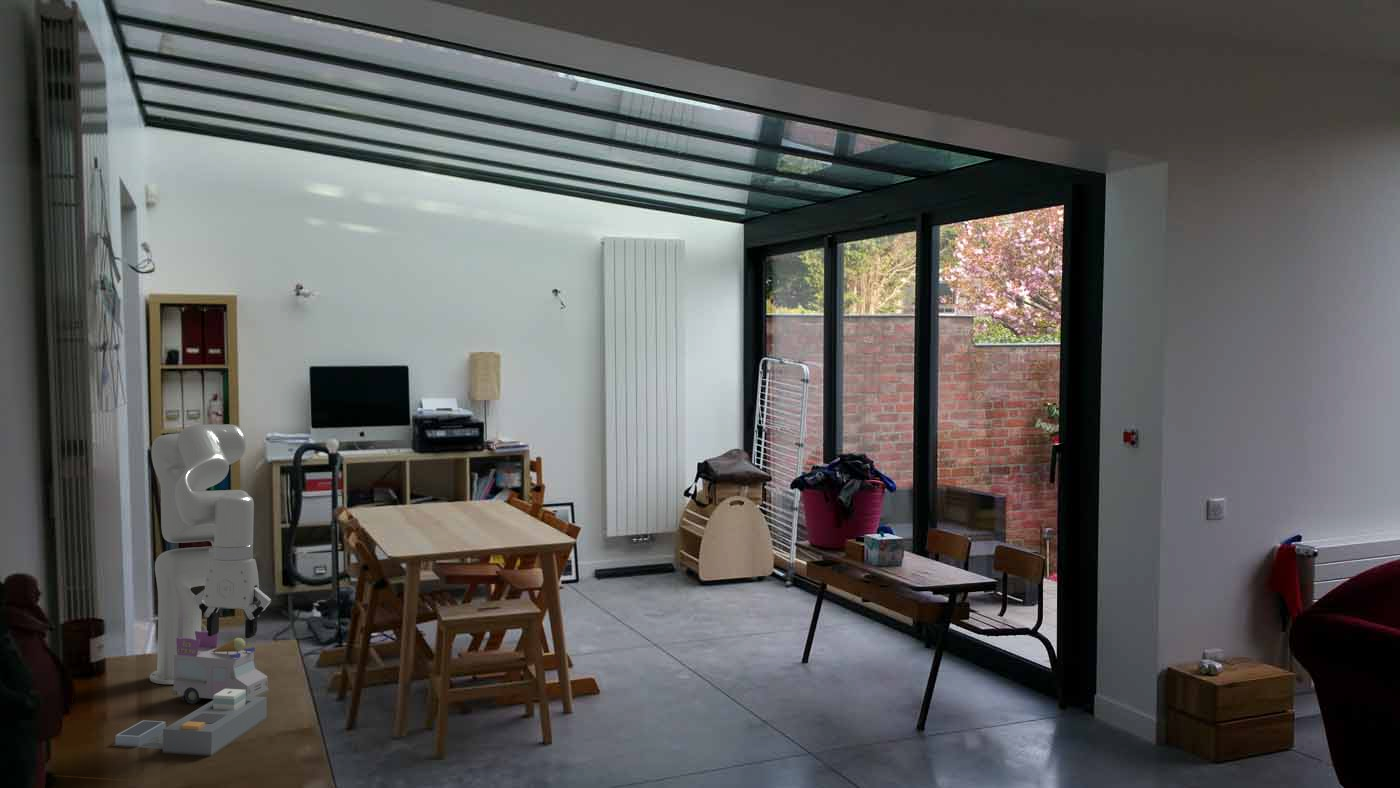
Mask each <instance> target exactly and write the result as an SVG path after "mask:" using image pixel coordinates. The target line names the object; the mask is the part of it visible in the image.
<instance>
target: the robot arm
mask: <svg viewBox="0 0 1400 788" xmlns="http://www.w3.org/2000/svg"><path fill="white" fill-rule="evenodd" d="M246 445H247V442H246V437H245V434H244V432H243V430H242V429H241V428H240V427H239V426H238V425H236V424H228V423H227V424H216V423H215V424H210V423H209V424H193V425H189V426H186V427H184V428H183V429H182V430H181V431H180V432H179V433H168V434H163V435H160V436H158V437H156V438H155V439H154V440H153V442H152V446H151V451H150V452H151V461H152V466H153V469H154V472H155V474H156V477H157V479H158V482H159V486H160V523H161V525H160V526H161V528H160V529H161V535H162V537H163V539H164V540H165V541H167V543H172V544H173V543H174V544H179V543H180V544H181V543H182V544H185V543H198V542H210V543H211V545H209V546H201V547H200V546H199V547H194V546H193V547H184V548H182V547H181V548H174V549H170V550H166V551H163V552H161V553H160V554H159V555H158V556H157V558H156V559H155V562H154V572H155V573H154V575H155V578H156V579H155V580H156V586H157V599H158V602H157V603H158V605H157V608H158V611H157V612H158V613H157V616H158V617H157V620H158V622H157V660H156V661H157V664H156V667H157V670H154V671H153V672H151V673H150V675H149V680H150V682H152V683H155V684H158V685H174V654H177V643H176V638H191V639H195V640H196V636H195V631H199V632H202V617H203V616H204V617H205V618H206V631H207V632H208V636H213V635H215V634H217V633H218V634H219V630H220V628H219V627H220V626H219V625H220V616H219V614H218V611H219V609H229V610H231V609H232V610H243V611H244V613H245V615H246V616H247V617H246V618H247V619H245V625H244V626H245V627H244V628H245V629H244V637H245V639H250V638H253V637H254V636H255V635H256V633H257V631H258V618H259V617H260V615H262V613H263V612H264V611H266V609H267V607H268V606H269V605H270V604H271V603H272V598H270V597H269V596H268V595H267V594H265V592H263V591H262V590H261V589H260V580H259V571H258V567H257V566H258V565H257V561H256V559H255V558H254V557H253V556H254V518H255V517H254V515H255V512H254V511H255V508H254V507H255V502H254V499H253V497H251V496H250V494H248V492H246V491H245V490H241V489H225V490H224V489H223V490H220V489H219V490H206V489H209V488H212V487H214V486H216V485H217V484H218V485H219V483H221V482H222V481H223V480H225V478H226V477H227V476H228V473H229V470H230V465H231V464H234V463H236V462H237V461H239V460H241V459H242V457H244V455H245V452H246V447H247V446H246ZM203 586H204V589H203V590H201V591H200V592H198V593H197V594H195V593H193V592H192V590H191V589H192V588H196V587H203ZM259 601H260V604H259V605H258V606H257V605H256V604H257V603H258V602H259ZM202 613H203V615H202Z"/></svg>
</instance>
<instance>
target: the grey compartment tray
mask: <svg viewBox="0 0 1400 788" xmlns="http://www.w3.org/2000/svg"><path fill="white" fill-rule="evenodd" d="M267 702H268V697H267V696H260V697H257V696H246V698H245V705H244V706H243V707H241V708H239V709H238V710H225V709H213V700H211V701H209V702H207V703H206V704H204V705H201V706H200V707H198V708H197V709H196V710H194V711H192V712H190V713H188V714H186V715H185V716H184V717H181V718H180V719H178V720H176V721H174V722H173V723H171V724H169V725H168V726H166V728H164V729H163V749H162V753H163V754H175V755H192V756H207V757H211V756H213V755H215V754H216V753H218V752H219V751H221V750H222V749H224V748H225V747H227V746H228V745H230V744H231V743H232V742H234V741H235V740H237V739H238V738H239V737H241V736H243V735H244V734H246V733H247V732H249V731H251V730H252V729H253V728H255V727H256V726H258V725H259V724H261V723H262V722H264V721H265V720H267V713H268V712H267V711H268V710H267V707H268V706H267V704H268V703H267Z"/></svg>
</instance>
